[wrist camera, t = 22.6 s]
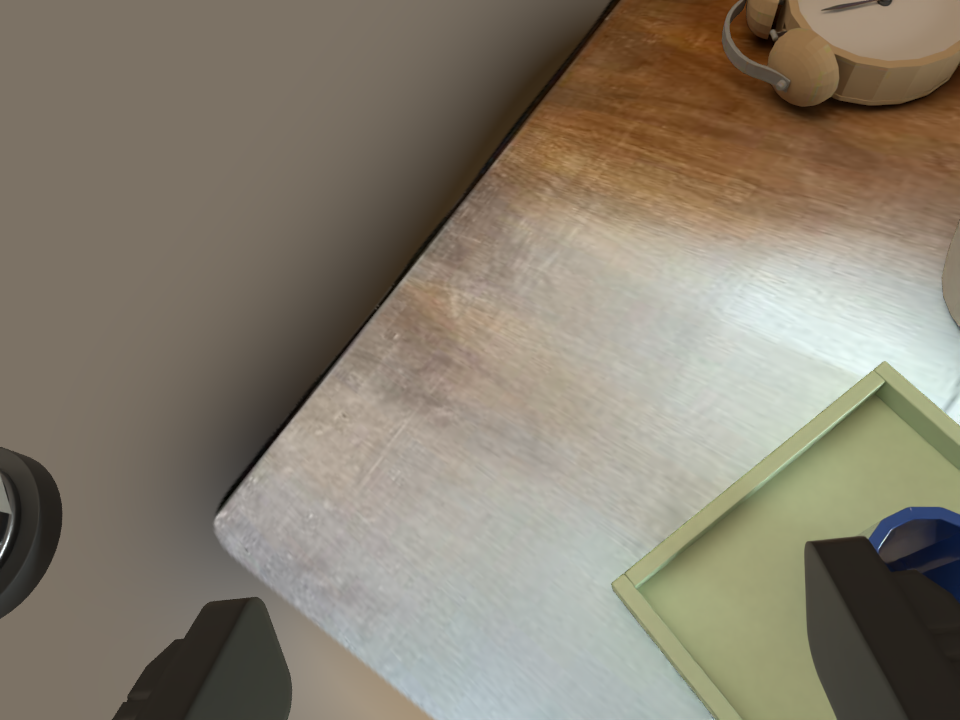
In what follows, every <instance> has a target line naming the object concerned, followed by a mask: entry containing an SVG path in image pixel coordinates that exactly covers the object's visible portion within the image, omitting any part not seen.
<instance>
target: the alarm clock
mask: <svg viewBox="0 0 960 720" xmlns="http://www.w3.org/2000/svg"><path fill="white" fill-rule="evenodd" d="M746 1H747V5H746V19H747V23H748V26H749V28H750V30H751V31H752V32H753V33H754V34H755V35H756V36H758V37H760V38H763V39H768V36H769V33H770V35H771V37H772V40H773V41H776V42H775V44H774V46H773V48H772V50H771V52H770V54H769V59H768V65H767V66H764V65H761V64H758V63H756V62H754V61H752V60H750V59H749V58H747V57H746V56H744V55H743V54H742V53H741V52H740V51H739V49H738V48H737V47H736V46H735V44H734V42H733V40H732V38H731V35H730V30H729V25H730V23H731V22H732V20H733V19H734V18H735V17H736V16H737V15H738V14H739V13H740V12H741V11H742V10H743V8H744V6H745V3H746ZM778 4H779V5H783V6H782V7H781V9H780V12H779V16H778V20H777V24H776V28H775V29H773V30H771V27H772V23H773V20H774V17H775V13H776V10H777V7H778ZM770 30H771V31H770ZM722 43H723V48H724V51H725V53H726V55H727V57H728V59H729V60H730V61H731V62H732V63H733V65H734V66H735V67H736V68H738V69H739V70H740V71H742V72H743V73H745V74H747V75H749V76H751V77H754V78H757V79H760V80H763V81H765V82H768V83H770V84H771V85H772V87H773V88H774V90H775V91H776V93H777V94H778V95H779V96H780V97H781V98H782V99H784V100H786V101H787V102H789V103H790V104H794V105H797V106H801V107H804V106H814V105H817V104H820V103H821V102H823V101H825V100H827V99H828V98H830V97H833V98H835V99H837V100H840V101H846V102H852V103H858V104H864V105H869V106H870V105H887V104H901V103H904V102H907V101H910V100H913V99H916V98H920V97H923V96H926V95H928V94H930V93H931V92H933V91H934V90H935V89H937V88H938V87H940V86H941V85H942V84H944V83H945V82H947V81H948V80H949V79H950V78H951V76H952V75H953V73H954V71H955V70H956V68H957V67H958V65H959V64H960V0H739V1H738V2H737V3H736V4H735V5H734V6H733V7H732V8H731V10H730V11H729V12H728V15H727V17H726V20H725V23H724V28H723V32H722Z"/></svg>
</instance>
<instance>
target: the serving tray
mask: <svg viewBox="0 0 960 720" xmlns="http://www.w3.org/2000/svg"><path fill="white" fill-rule="evenodd" d="M907 507H943V508H945V509H948V510H950V511H953V512H955V513H958V514H960V426H959V425H958V424H957V423H956V422H955V421H954V420H952V419H951V418H950V417H949V416H948V415H947V414H946V413H944V412H943V411H942V410H941V409H940V408H939V407H938V406H936V405H935V404H934V403H933V402H932V401H931V400H930V399H928V398H927V397H926V396H925V395H924V394H923V393H921V392H920V391H919V390H918V389H917V388H916V387H915V386H913V385H912V384H911V383H910V382H909V381H908V380H907V379H905V378H904V377H903V376H902V375H901V374H900V373H899V372H897V371H896V370H895V369H894V368H893V367H892V366H891V365H889V364H888V363H887V362H886V361H884V362H882V363H881V364H880V365H879V366H877V367H876V368H875V369H874V370H873V371H871V372H870V373H869V374H868V375H866V376H865V377H864V378H863V379H861V380H860V381H859V382H858V383H857V384H855V385H854V386H853V387H852V388H850V389H849V390H848V391H847V392H845V393H844V394H843V395H842V396H841V397H839V398H838V399H837V400H836V401H834V402H833V403H832V404H831V405H830V406H828V407H827V408H826V409H825V410H823V411H822V412H821V413H820V414H818V415H817V416H816V417H815V418H814V419H812V420H811V421H810V422H809V423H807V424H806V425H805V426H804V427H803V428H801V429H800V430H799V431H798V432H796V433H795V434H794V435H793V436H792V437H790V438H789V439H788V440H787V441H785V442H784V443H783V444H782V445H780V446H779V447H778V448H777V449H776V450H774V451H773V452H772V453H771V454H769V455H768V456H767V457H766V458H765V459H763V460H762V461H761V462H760V463H758V464H757V465H756V466H755V467H754V468H752V469H751V470H750V471H749V472H747V473H746V474H745V475H744V476H742V477H741V478H740V479H739V480H738V481H736V482H735V483H734V484H733V485H731V486H730V487H729V488H728V489H727V490H725V491H724V492H723V493H722V494H720V495H719V496H718V497H717V498H715V499H714V500H713V501H712V502H711V503H709V504H708V505H707V506H706V507H704V508H703V509H702V510H701V511H700V512H698V513H697V514H696V515H695V516H693V517H692V518H691V519H690V520H689V521H687V522H686V523H685V524H684V525H682V526H681V527H680V528H679V529H677V530H676V531H675V532H674V533H673V534H671V535H670V536H669V537H668V538H666V539H665V540H664V541H663V542H662V543H660V544H659V545H658V546H657V547H655V548H654V549H653V550H652V551H651V552H649V553H648V554H647V555H646V556H644V557H643V558H642V559H641V560H639V561H638V562H637V563H636V564H635V565H633V566H632V567H631V568H630V569H628V570H627V571H626V572H625V574H622V575H621V576H620V577H619V578H617V579H616V580H615V581H614V582H612V584H611V585H612V589H613V591H614V592H615V593H616V595H617V596H618V597H619V598H620V600H621V601H622V602H623V604H624V605H625V606H626V607H627V609H628V610H629V611H630V612H631V614H632V615H633V616H634V617H635V619H636V620H637V621H638V622H639V624H640V625H641V626H642V627H643V629H644V630H645V631H646V633H647V634H648V635H649V636H650V638H651V639H652V640H653V641H654V643H655V644H656V645H657V646H658V648H659V649H660V650H661V651H662V653H663V654H664V655H665V656H666V658H667V659H668V660H669V661H670V663H671V664H672V665H673V667H674V668H675V669H676V670H677V672H678V673H679V674H680V675H681V677H682V678H683V679H684V680H685V682H686V683H687V684H688V685H689V687H690V688H691V689H692V690H693V692H694V693H695V694H696V695H697V697H698V698H699V699H700V701H701V702H702V703H703V704H704V706H705V707H706V708H707V709H708V711H709V712H710V713H711V714H712V716H713V717H714V718H715V719H716V720H837V718H836V716H835V714H834V712H833V709H832V707H831V705H830V702H829V700H828V698H827V696H826V693H825V691H824V689H823V686H822V684H821V682H820V680H819V677H818V675H817V672H816V669H815V666H814V663H813V659H812V656H811V651H810V647H809V641H808V635H807V621H806V593H805V565H804V548H805V544H806V542H807V541H814V540H824V539H833V538H843V537H853V536H856V535H858V534H860V533H861V532H863V531H864V530H866V529H868V528H869V527H871V526H872V525H874V524H876V523H877V522H879V521H880V520H882V519H884V518H886V517H888V516H890V515H892V514H894V513H896V512H898V511H900V510H903V509H905V508H907Z"/></svg>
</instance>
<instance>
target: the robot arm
mask: <svg viewBox="0 0 960 720" xmlns="http://www.w3.org/2000/svg"><path fill="white" fill-rule="evenodd" d="M20 521H21V503H20V497H19V493H18V490H17V488H16V486H15V484H14V482H13V481H12V479H11V478H10V477H9V475H8V474H7V473H5V472H4V471H3V470H1V469H0V569H1V568H2V566H3V565H4V564H5V562H6V560H7V559H8V557H9V555H10V553H11V551H12V549H13V547H14V544H15V542H16V539H17V536H18V532H19V528H20ZM804 565H805V593H806V621H807V635H808V641H809V647H810V651H811V656H812V659H813V663H814V666H815V669H816V672H817V675H818V677H819V680H820V682H821V684H822V686H823V689H824V691H825V693H826V696H827V698H828V700H829V702H830V705H831V707H832V709H833V712H834V714H835V716H836V718H837V720H960V604H959V603H958V601H957V600H956V599H955V597H954V596H953V595H952V594H951V593H950V592H948V591H947V590H945V589H944V588H942V587H941V586H939V585H938V584H936V583H935V582H933V581H932V580H930V579H929V578H927V577H926V576H925V575H923V574H922V573H920V572H919V571H917V570H916V569H915V570H905V571H895V572H890V571H889V569H888V568H887V566H886V565H885V563H884V562H883V560H882V559H881V557H880V556H879V554H878V553H877V551H876V550H875V548H874V547H873V545H872V544H871V542H870V541H869V539H867V538H866V537H865V536H853V537H843V538H833V539H824V540H814V541H807V542H806V544H805V548H804ZM291 701H292V683H291V677H290V673H289V669H288V666H287V664H286V661H285V658H284V656H283V653H282V650H281V647H280V644H279V641H278V639H277V636H276V633H275V630H274V628H273V625H272V622H271V619H270V616H269V614H268V611H267V608H266V606H265V604H264V602H263V601H262V600H261V599H259V598H258V597H251V598H242V599H232V600H222V601H213V602H209V603H207V604H206V605H205V606H204V607H203V608H202V610H201V612H200V613H199V615H198V616H197V618H196V619H195V621H194V623H193V624H192V626H191V628H190V629H189V631H188V633H187V634H186V636H185V638H184V639H177V640H174V641H173V642H172V643H171V644H170V645H169V646H168V647H167V648H166V649H165V650H164V651H163V652H162V653H160V654H159V655H158V656H157V657H156V658H155V659H154V660H153V661H152V662H151V663H150V664H149V665H147V666H146V668H145V670H144V671H143V673H142V674H141V676H140V677H139V679H138V680H137V682H136V683H135V685H134V686H133V688H132V690H131V691H130V693H129V694H128V700H127V702H123V704H122V705H121V707H120V708H119V710H118V711H117V713H116V715H115V716H114V718H113V719H112V720H287V719H288V716H289V713H290V708H291Z"/></svg>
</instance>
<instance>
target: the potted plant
mask: <svg viewBox="0 0 960 720" xmlns="http://www.w3.org/2000/svg"><path fill="white" fill-rule="evenodd" d="M942 287H943V297H944V300H945V302H946V305H947V307H948V309H949V312H950V314H951V316H952V318H953V319H954V320H955V322H956V323H957V324H958V326H959V327H960V220H959V223H958V226H957V228H956V231H955V234H954V236H953V239H952V242H951V244H950V248H949V251H948V254H947V258H946V262H945V266H944V270H943V274H942Z"/></svg>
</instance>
